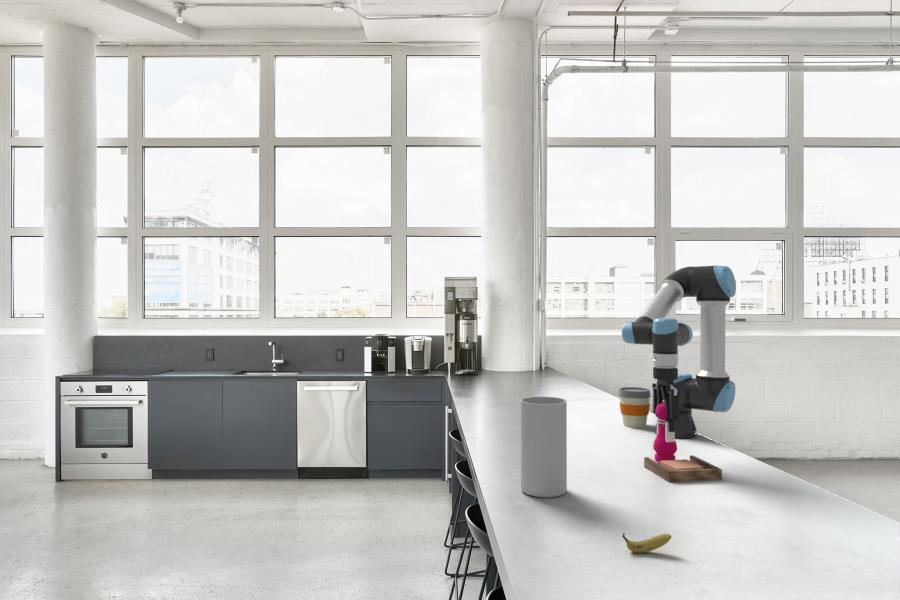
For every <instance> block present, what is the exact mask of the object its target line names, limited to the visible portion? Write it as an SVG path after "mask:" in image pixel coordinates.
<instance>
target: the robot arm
mask: <svg viewBox="0 0 900 600" xmlns="http://www.w3.org/2000/svg"><path fill="white" fill-rule="evenodd" d="M733 272H734V271H733V270H732V269H731V268H730V267H729V266H727V265H703V266H702V265H698V266H685V267H682V268H679V269H677V270H675V271H674V272H672V273H670V274H669V275H667V276H666V277H665V278H664V279H663V280H662V281H661V283H660V284H659V286H658V289H657V290H658V291H657V292H656V293H655V295H654V296H653V297H652V299H650V301H649V303H648V304H647V305H646V307H645V308H644V309H643V311H642V312H641V313H640V315H639V316H638V317H637V318H636V320H635V321H626V322H624V324H622V328H621V337H622V340H623V342H624V343H626V344H633V345H652V356H651V358H652V365H653V367H652V378H653V379H654V380H656V383H655V382H654V383H652V384H651V386H652V413H653V414H655V417H656V419H657V418H658V416H657V415H656V412H655V411H656V407H657V406H658V405H659V404H661V403H663V399H664V400H665V408H666V416H667V420H665V441H666V442H675V441H676V439H692V438H695V437H697V434H698V433H697V427H696V424H695V420H694V418H693V415H692V414H693V413H692V412H693V410H699V411H707V412H713V413H726V412H728V411H729V410H731V408H732V406H733V404H734V401H735V397H736V384H735V382H734V381H732V380H730V377H731V376H730V374H729V373H728V372H726V307H727V306H728V305H729V304H730V303H731V298H734V297H735V295H736V293H737V292H736V291H737V284H736V277H735V274H734V273H733ZM684 298H695V300H696V301H695V302H696V303H697V304H698V305H699V306H700V324H699V325H700V336H699V337H700V340H699V341H700V346H699V347H700V349H699V351H700V352H699V354H700V355H699V359H700V360H699V361H700V362H699V364H700V366H699V371H697V372H696V374H695V378H694V377H693V375H692V373H679V369H678V365H679V346H680V347H683V346H685V345H687V344H689V343H690V342H691V340H692V339H693V335H694V334H693V330H692V328H691V326H689V324H687V323H684V322H678V320H677V318H674V317H670V318H669V317H667V316H668V315H669V313H670V311H671V310H672V308H673V307H674V305H675V304H676V303H678V302H680V301H682V299H684ZM658 431H659V424H658V423H657V422H656V423H655V426H654V433H655V435H657V434H658ZM695 433H696V434H695Z"/></svg>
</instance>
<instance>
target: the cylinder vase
mask: <svg viewBox="0 0 900 600" xmlns="http://www.w3.org/2000/svg"><path fill="white" fill-rule="evenodd" d="M567 404H568V403H567V400H566V399H564V398H561V397H553V396H527V397H522V398H521V399H520V489H521V491H522V492H523V493H525V494H526V495H529V496H531V497H537V498H548V499H550V498H556V497H561V496H563V495H564V494H566V492H567V490H568V485H567V484H568V481H567V480H568V474H567V472H568V470H567V468H568V466H567V465H568V464H567V461H568V459H567V458H568V456H567V455H568V453H567V452H568V449H567V446H568V445H567V441H568V440H567V438H568V437H567V436H568V435H567V431H568V430H567V429H568V428H567V426H568V425H567V417H568V416H567V407H568V405H567Z"/></svg>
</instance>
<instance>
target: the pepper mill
mask: <svg viewBox="0 0 900 600" xmlns="http://www.w3.org/2000/svg"><path fill="white" fill-rule="evenodd" d="M655 412H656V415H657V416H658V418H657V417H656V423H658V424H659V431H658V434H656V437H655V438H654V440H653V444H652V448H653V450H654V451H655V454H654V461H655V462H657V463H660V461H666V460H676V455H675V454H676V452H677V451H678V445H677V441H676V440H675V442H666V441H665V420H667V416H666V408H665V400H664V399H663V403H661V404H659V405H658V406H657V407H656V411H655ZM656 415H655V416H656Z"/></svg>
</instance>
